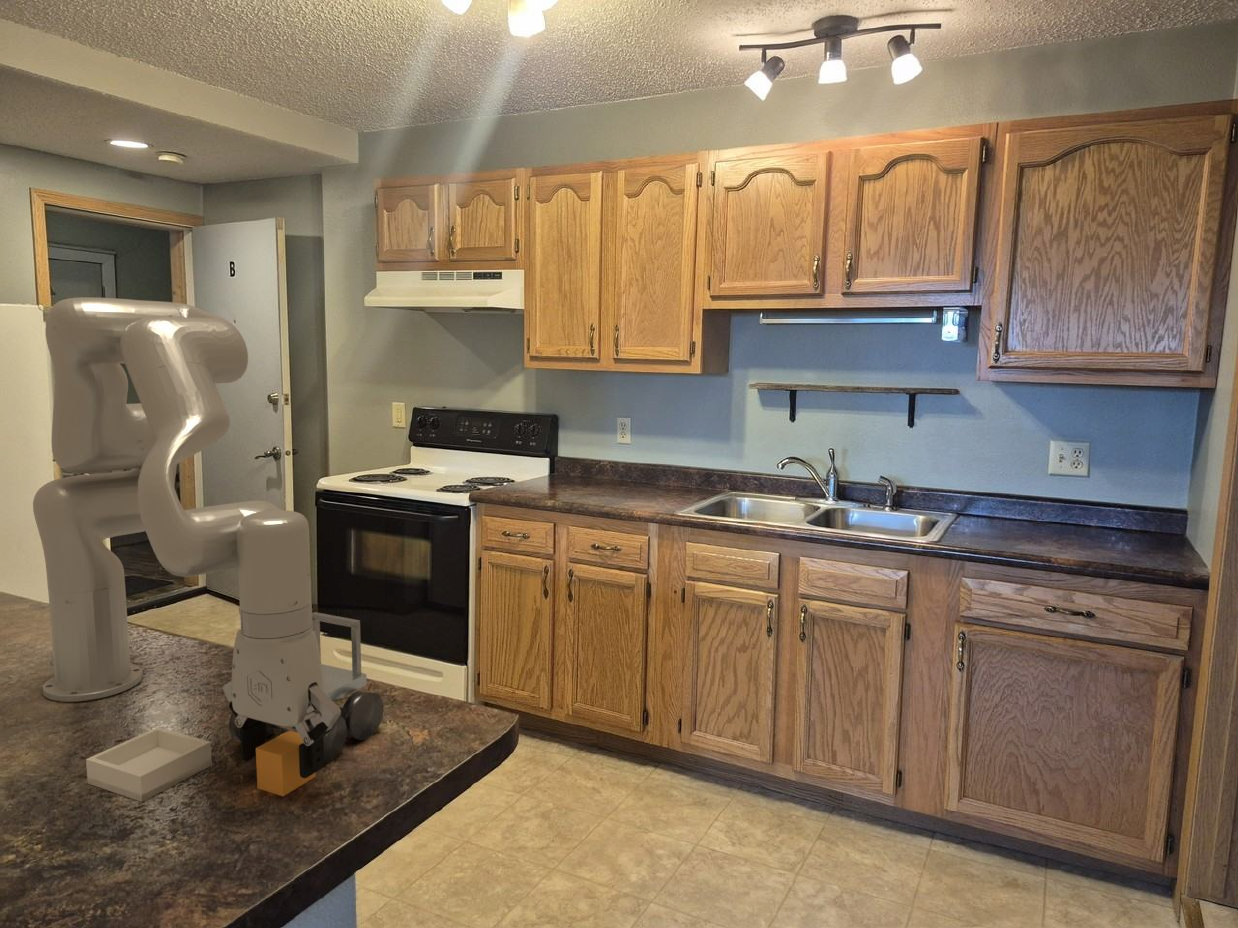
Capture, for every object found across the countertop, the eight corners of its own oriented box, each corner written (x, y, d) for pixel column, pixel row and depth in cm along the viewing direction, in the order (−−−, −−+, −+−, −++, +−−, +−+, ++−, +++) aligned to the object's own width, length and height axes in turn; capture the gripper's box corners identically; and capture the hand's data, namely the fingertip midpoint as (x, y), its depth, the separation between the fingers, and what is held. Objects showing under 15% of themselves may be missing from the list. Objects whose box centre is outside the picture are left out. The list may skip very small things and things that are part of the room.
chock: (257, 788, 96) (255, 747, 95) (290, 769, 101) (289, 730, 100) (283, 796, 95) (281, 755, 94) (315, 776, 99) (314, 737, 98)
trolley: (230, 749, 105) (224, 636, 103) (306, 709, 117) (303, 607, 115) (312, 772, 100) (308, 653, 98) (383, 728, 112) (381, 621, 110)
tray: (87, 783, 96) (86, 759, 96) (159, 749, 105) (158, 726, 104) (141, 801, 93) (140, 776, 92) (211, 765, 101) (210, 741, 101)
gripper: (194, 618, 94) (201, 762, 97) (310, 642, 87) (316, 796, 90) (247, 600, 101) (253, 735, 104) (359, 621, 94) (363, 765, 97)
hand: (282, 763), depth 97 cm, fingers open, 8 cm apart
